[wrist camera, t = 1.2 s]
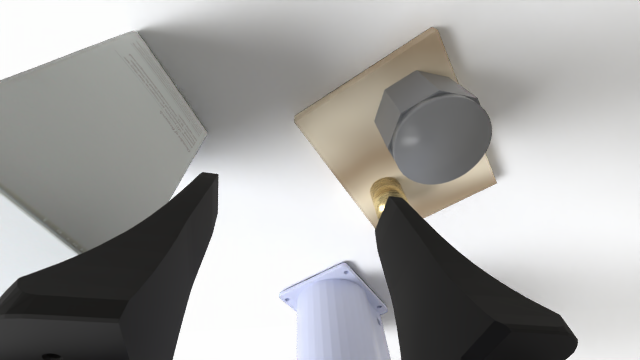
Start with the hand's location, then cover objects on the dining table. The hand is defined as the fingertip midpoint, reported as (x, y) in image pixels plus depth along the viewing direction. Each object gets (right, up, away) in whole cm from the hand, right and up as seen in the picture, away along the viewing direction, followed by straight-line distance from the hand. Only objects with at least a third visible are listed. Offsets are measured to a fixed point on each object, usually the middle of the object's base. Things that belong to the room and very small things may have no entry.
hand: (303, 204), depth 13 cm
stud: (+6, 0, +11) cm, 12 cm away
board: (+7, +3, +10) cm, 12 cm away
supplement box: (-12, +6, +7) cm, 15 cm away
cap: (+7, +5, +7) cm, 12 cm away
